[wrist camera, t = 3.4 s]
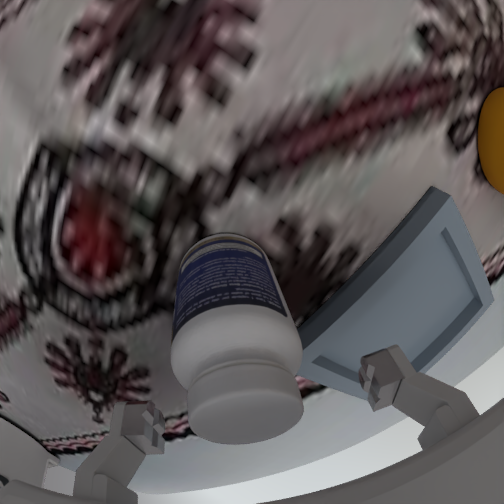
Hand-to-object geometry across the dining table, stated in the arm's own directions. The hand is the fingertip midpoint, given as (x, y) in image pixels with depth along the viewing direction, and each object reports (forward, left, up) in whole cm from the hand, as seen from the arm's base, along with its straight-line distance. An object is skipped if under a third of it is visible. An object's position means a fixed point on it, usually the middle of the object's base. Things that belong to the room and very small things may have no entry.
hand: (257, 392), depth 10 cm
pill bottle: (0, +1, -9) cm, 9 cm away
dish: (+5, -14, -8) cm, 17 cm away
